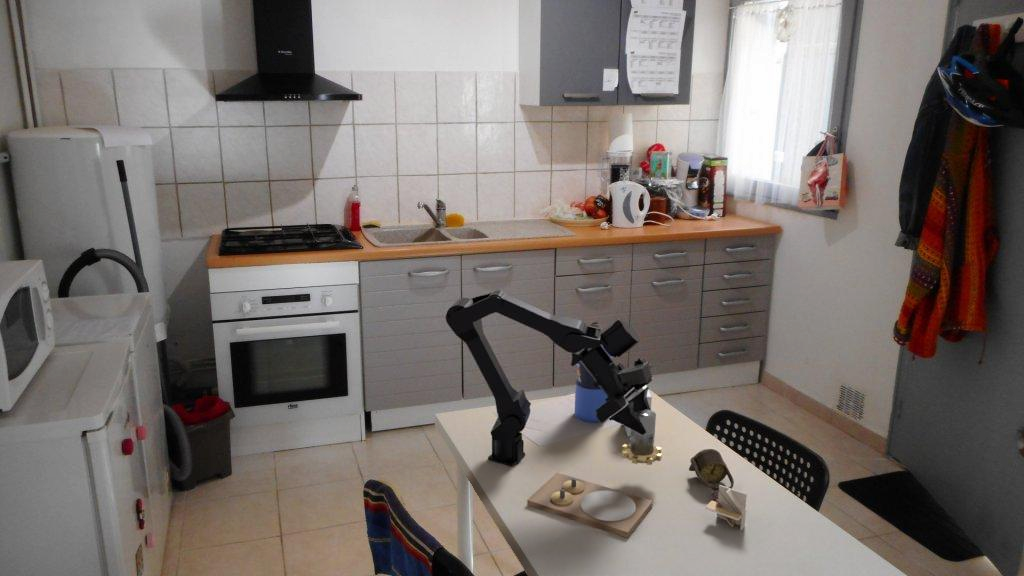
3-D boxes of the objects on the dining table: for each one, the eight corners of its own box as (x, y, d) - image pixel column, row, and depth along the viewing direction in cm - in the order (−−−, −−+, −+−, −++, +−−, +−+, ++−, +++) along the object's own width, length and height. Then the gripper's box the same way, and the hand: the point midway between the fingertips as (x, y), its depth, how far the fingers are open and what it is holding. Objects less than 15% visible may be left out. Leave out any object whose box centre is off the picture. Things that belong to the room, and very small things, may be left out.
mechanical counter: (740, 453, 165) (694, 438, 166) (744, 476, 152) (695, 461, 154) (730, 482, 166) (685, 468, 168) (733, 508, 154) (685, 492, 156)
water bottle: (572, 421, 192) (574, 328, 185) (575, 406, 201) (578, 316, 194) (609, 424, 190) (613, 330, 184) (610, 408, 199) (614, 318, 192)
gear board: (527, 505, 154) (527, 491, 153) (556, 477, 165) (557, 464, 164) (627, 537, 143) (628, 523, 142) (652, 505, 154) (653, 491, 153)
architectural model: (737, 536, 144) (741, 501, 142) (703, 523, 149) (706, 490, 147) (744, 528, 147) (747, 494, 145) (711, 516, 151) (713, 482, 149)
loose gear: (615, 458, 161) (617, 416, 158) (630, 442, 168) (632, 402, 165) (653, 468, 157) (656, 426, 154) (667, 452, 164) (670, 410, 161)
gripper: (611, 363, 150) (661, 427, 148) (645, 337, 166) (691, 394, 163) (575, 391, 156) (622, 453, 154) (611, 364, 172) (654, 419, 169)
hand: (649, 428), depth 160 cm, fingers closed on loose gear, 5 cm apart
